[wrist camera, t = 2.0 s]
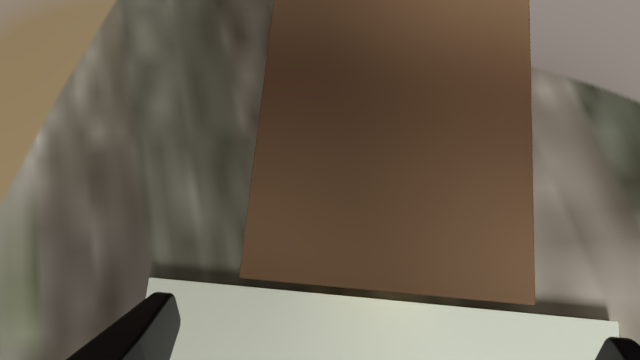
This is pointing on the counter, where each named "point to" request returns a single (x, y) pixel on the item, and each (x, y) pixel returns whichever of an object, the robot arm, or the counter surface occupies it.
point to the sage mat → (364, 328)
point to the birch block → (396, 149)
